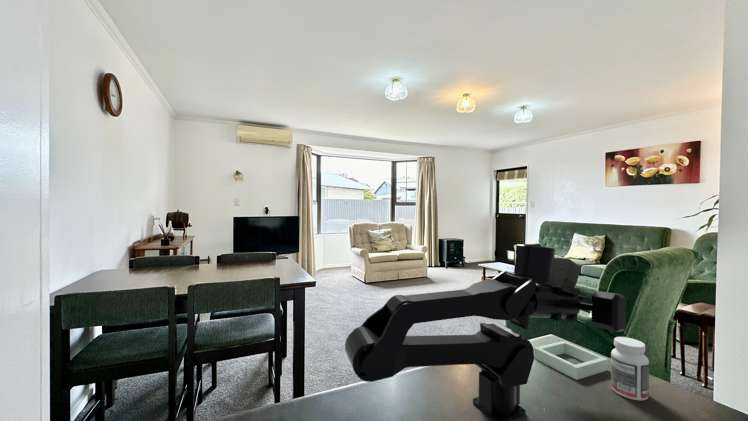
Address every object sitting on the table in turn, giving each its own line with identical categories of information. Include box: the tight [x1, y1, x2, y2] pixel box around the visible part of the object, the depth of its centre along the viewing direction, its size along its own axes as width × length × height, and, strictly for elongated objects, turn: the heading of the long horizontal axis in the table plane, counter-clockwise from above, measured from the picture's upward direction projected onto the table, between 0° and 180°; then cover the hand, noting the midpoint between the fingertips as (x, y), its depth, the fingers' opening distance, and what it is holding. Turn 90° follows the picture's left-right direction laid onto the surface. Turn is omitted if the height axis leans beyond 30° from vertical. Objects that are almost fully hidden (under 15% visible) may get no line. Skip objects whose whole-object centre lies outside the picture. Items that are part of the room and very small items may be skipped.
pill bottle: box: [610, 336, 650, 401], centre depth 61 cm, size 6×6×10 cm
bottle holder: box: [533, 340, 609, 381], centre depth 72 cm, size 10×10×2 cm
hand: (597, 304), depth 64 cm, fingers open, 9 cm apart
